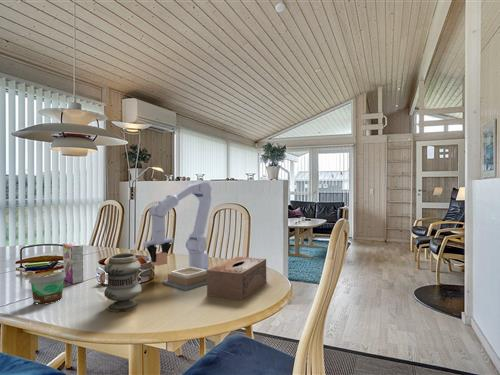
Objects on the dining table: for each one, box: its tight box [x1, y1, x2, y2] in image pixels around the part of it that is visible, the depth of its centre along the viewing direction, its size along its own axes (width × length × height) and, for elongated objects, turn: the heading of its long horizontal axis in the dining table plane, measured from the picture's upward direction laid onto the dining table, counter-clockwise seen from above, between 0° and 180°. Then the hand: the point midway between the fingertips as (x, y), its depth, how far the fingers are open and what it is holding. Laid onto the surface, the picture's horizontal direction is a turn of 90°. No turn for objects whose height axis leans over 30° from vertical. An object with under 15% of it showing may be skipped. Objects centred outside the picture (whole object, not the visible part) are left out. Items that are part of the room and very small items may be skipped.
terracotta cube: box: [150, 250, 168, 267], centre depth 149 cm, size 5×5×5 cm
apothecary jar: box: [103, 252, 142, 313], centre depth 115 cm, size 12×12×18 cm
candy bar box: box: [62, 242, 84, 285], centre depth 148 cm, size 11×5×16 cm, turn 47°
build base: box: [162, 266, 207, 291], centre depth 144 cm, size 16×16×5 cm
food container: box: [28, 269, 66, 305], centre depth 122 cm, size 12×6×10 cm, turn 148°
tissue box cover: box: [206, 255, 267, 301], centre depth 135 cm, size 26×14×10 cm, turn 156°
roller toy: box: [99, 271, 105, 285], centre depth 144 cm, size 4×6×6 cm
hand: (159, 260), depth 149 cm, fingers closed on terracotta cube, 5 cm apart
